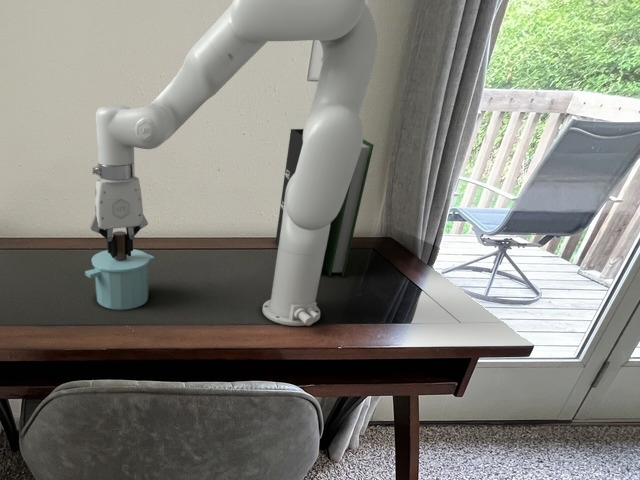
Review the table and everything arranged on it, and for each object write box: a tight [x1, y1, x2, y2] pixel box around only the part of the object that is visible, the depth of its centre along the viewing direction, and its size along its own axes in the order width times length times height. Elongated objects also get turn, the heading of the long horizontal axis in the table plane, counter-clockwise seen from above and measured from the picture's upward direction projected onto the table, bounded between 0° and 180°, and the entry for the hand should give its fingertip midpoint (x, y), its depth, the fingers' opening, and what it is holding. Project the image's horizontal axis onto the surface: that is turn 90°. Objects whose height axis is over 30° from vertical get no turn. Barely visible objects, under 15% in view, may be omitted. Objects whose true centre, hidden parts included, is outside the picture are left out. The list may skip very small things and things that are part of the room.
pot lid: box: [91, 230, 150, 272], centre depth 109 cm, size 14×14×7 cm
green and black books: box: [275, 128, 374, 277], centre depth 128 cm, size 27×15×32 cm, turn 176°
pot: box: [84, 254, 156, 311], centre depth 114 cm, size 13×18×10 cm
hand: (120, 254), depth 110 cm, fingers closed on pot lid, 3 cm apart
